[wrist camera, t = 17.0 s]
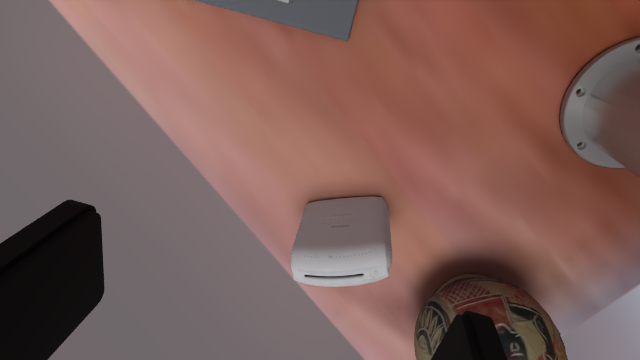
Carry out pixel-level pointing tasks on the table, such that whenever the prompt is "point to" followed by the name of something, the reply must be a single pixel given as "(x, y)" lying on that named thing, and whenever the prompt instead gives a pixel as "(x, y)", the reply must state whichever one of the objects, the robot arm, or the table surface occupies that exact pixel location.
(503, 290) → the ceramic jug
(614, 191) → the table surface
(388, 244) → the photo printer
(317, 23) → the dock board
